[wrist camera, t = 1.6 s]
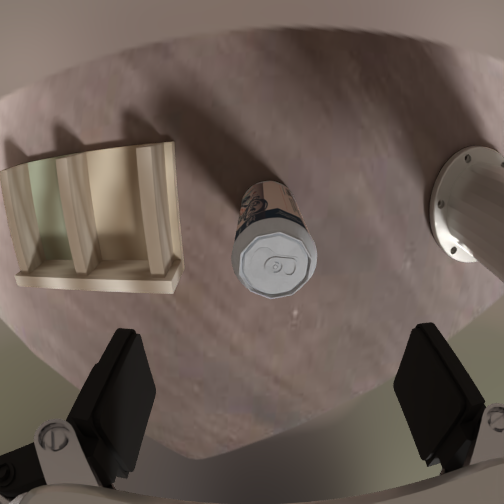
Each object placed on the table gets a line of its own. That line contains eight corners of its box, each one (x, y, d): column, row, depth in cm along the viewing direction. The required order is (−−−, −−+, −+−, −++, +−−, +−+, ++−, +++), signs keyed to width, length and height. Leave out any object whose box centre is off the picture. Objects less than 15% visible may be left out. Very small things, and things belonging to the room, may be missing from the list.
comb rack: (174, 141, 25) (157, 146, 21) (184, 267, 30) (173, 293, 26) (20, 164, 26) (-9, 173, 21) (40, 266, 31) (18, 285, 26)
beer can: (243, 176, 27) (233, 219, 16) (298, 182, 27) (327, 228, 16) (238, 229, 29) (227, 301, 18) (291, 234, 29) (311, 308, 18)
